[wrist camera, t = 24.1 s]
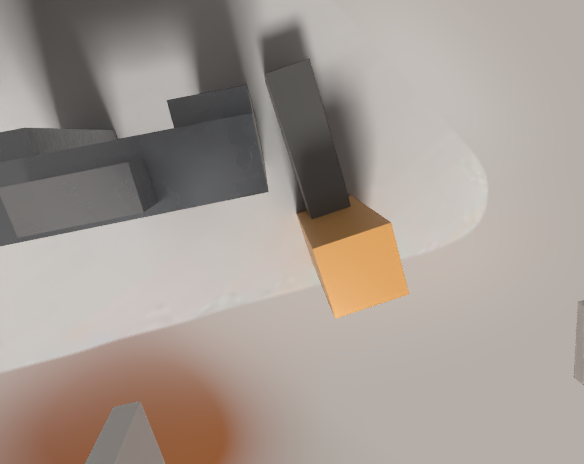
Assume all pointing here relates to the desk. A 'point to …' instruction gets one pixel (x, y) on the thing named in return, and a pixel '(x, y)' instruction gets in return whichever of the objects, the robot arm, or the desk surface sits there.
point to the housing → (129, 168)
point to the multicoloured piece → (333, 203)
